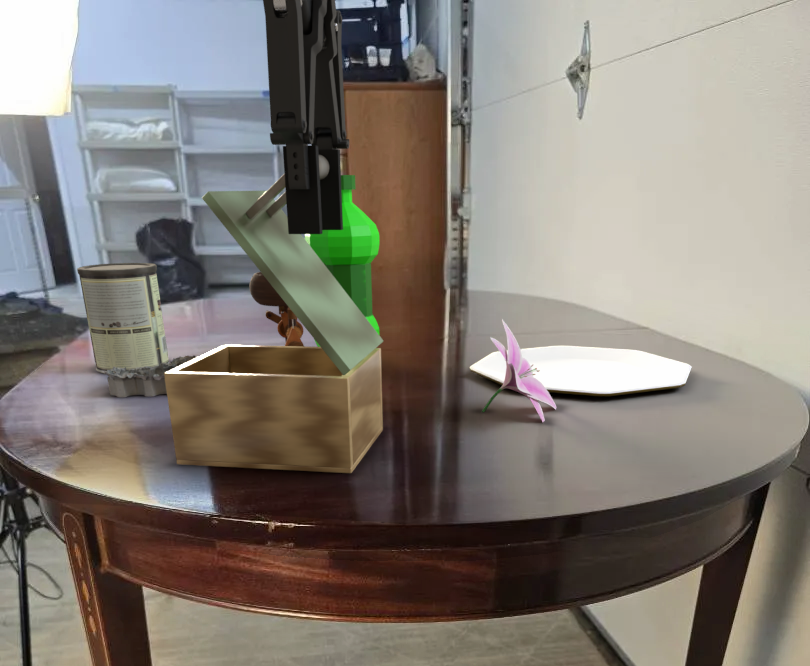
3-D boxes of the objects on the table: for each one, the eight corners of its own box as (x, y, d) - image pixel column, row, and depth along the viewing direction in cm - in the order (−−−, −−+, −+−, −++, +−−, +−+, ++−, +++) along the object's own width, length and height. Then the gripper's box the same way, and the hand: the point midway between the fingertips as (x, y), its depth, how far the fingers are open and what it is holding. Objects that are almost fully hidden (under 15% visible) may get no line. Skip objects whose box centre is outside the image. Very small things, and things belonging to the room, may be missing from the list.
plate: (544, 413, 87) (544, 400, 86) (442, 366, 110) (442, 356, 110) (735, 389, 96) (737, 377, 96) (604, 350, 120) (605, 340, 119)
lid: (201, 198, 61) (270, 126, 58) (261, 196, 73) (320, 136, 70) (343, 375, 65) (414, 317, 62) (377, 345, 77) (438, 296, 74)
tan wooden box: (177, 468, 71) (163, 372, 68) (232, 426, 83) (224, 344, 80) (351, 477, 69) (347, 378, 65) (383, 433, 81) (380, 348, 77)
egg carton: (203, 385, 102) (200, 354, 100) (190, 399, 95) (186, 366, 93) (122, 386, 101) (117, 355, 100) (103, 400, 95) (97, 367, 93)
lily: (500, 447, 79) (553, 366, 75) (426, 386, 84) (472, 307, 80) (553, 454, 88) (602, 382, 85) (484, 398, 94) (527, 328, 90)
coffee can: (87, 367, 112) (68, 265, 107) (156, 359, 118) (142, 261, 112) (107, 380, 105) (88, 271, 99) (180, 370, 110) (167, 266, 104)
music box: (354, 391, 97) (334, 220, 88) (270, 408, 94) (240, 232, 85) (317, 368, 110) (296, 217, 101) (242, 382, 106) (213, 227, 97)
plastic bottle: (300, 358, 117) (287, 176, 107) (358, 349, 123) (351, 176, 112) (335, 369, 110) (325, 174, 99) (395, 359, 115) (391, 174, 105)
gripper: (311, -158, 48) (329, 238, 58) (376, -69, 65) (382, 226, 75) (198, -148, 50) (234, 238, 59) (291, -63, 67) (307, 226, 76)
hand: (317, 231), depth 67 cm, fingers closed on lid, 6 cm apart
